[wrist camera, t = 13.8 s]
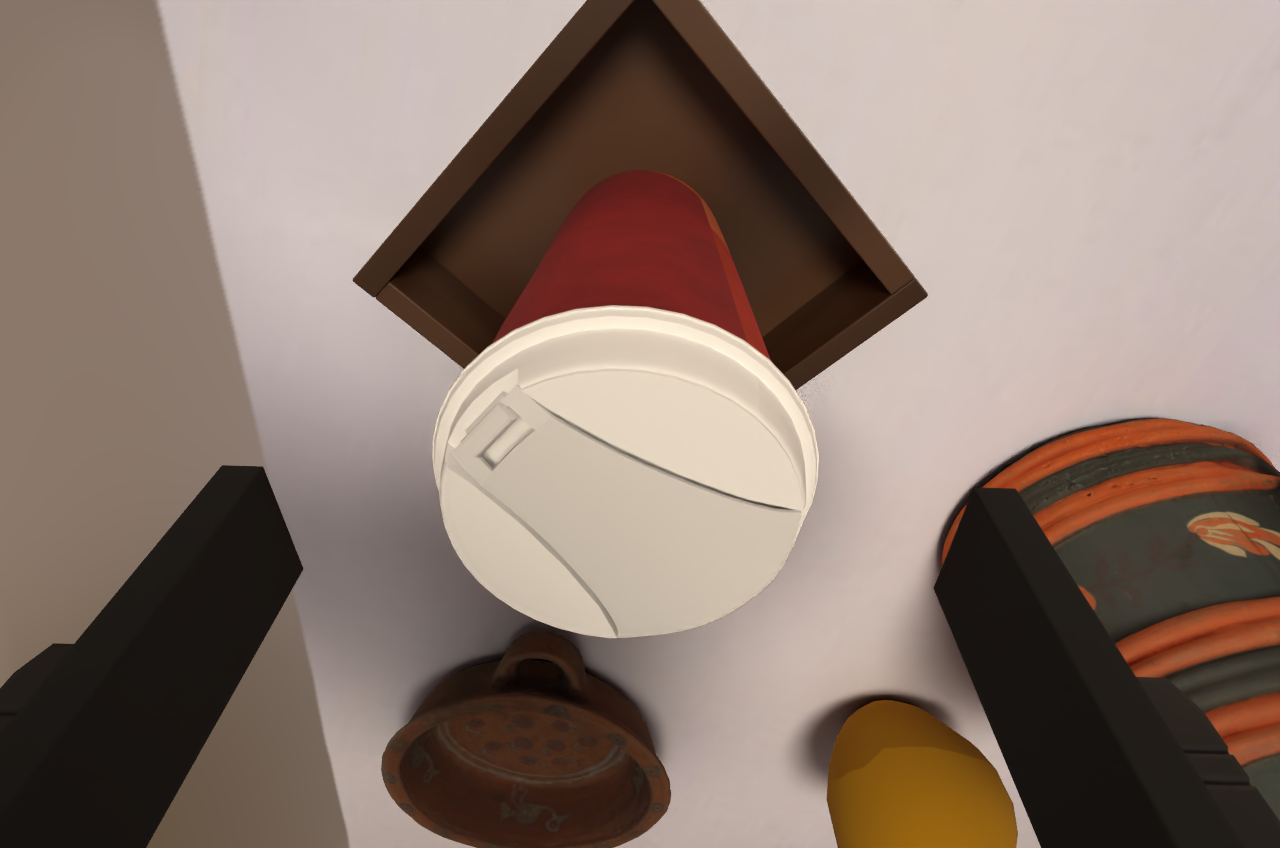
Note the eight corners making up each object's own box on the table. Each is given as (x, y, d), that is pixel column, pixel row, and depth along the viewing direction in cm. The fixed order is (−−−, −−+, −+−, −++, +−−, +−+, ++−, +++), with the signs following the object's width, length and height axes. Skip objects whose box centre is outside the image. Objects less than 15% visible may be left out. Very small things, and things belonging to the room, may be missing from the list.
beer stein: (1116, 281, 27) (1841, 816, 10) (1422, 373, 29) (2445, 946, 12) (888, 595, 37) (1065, 1103, 21) (1122, 646, 39) (1453, 1149, 23)
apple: (988, 668, 41) (1088, 891, 31) (942, 756, 46) (1016, 968, 37) (824, 662, 41) (874, 882, 31) (799, 750, 46) (834, 960, 37)
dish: (705, 630, 39) (710, 709, 35) (639, 812, 52) (637, 886, 48) (400, 588, 38) (369, 665, 34) (408, 785, 51) (386, 859, 47)
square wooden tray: (390, 238, 26) (351, 280, 23) (647, -67, 21) (644, -69, 17) (638, 446, 32) (635, 505, 29) (895, 251, 26) (929, 296, 23)
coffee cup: (489, 254, 26) (335, 529, 14) (634, 79, 22) (597, 242, 10) (650, 382, 29) (639, 700, 17) (799, 247, 26) (924, 526, 13)
